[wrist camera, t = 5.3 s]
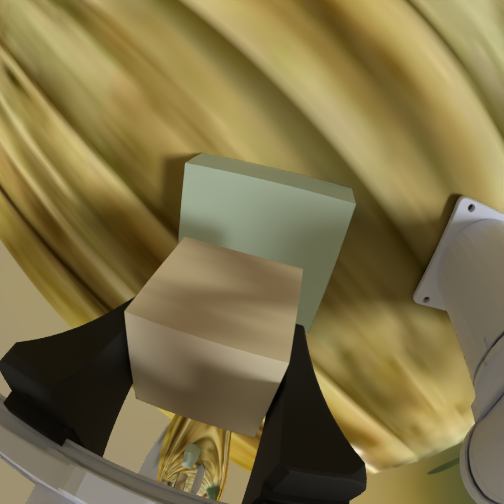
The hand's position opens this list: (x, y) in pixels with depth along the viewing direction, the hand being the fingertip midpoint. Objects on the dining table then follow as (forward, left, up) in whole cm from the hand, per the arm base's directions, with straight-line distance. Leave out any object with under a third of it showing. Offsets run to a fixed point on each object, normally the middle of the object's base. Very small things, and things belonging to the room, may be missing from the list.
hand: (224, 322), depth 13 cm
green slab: (0, 0, -9) cm, 9 cm away
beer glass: (+1, +18, -9) cm, 20 cm away
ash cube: (0, 0, -2) cm, 2 cm away
